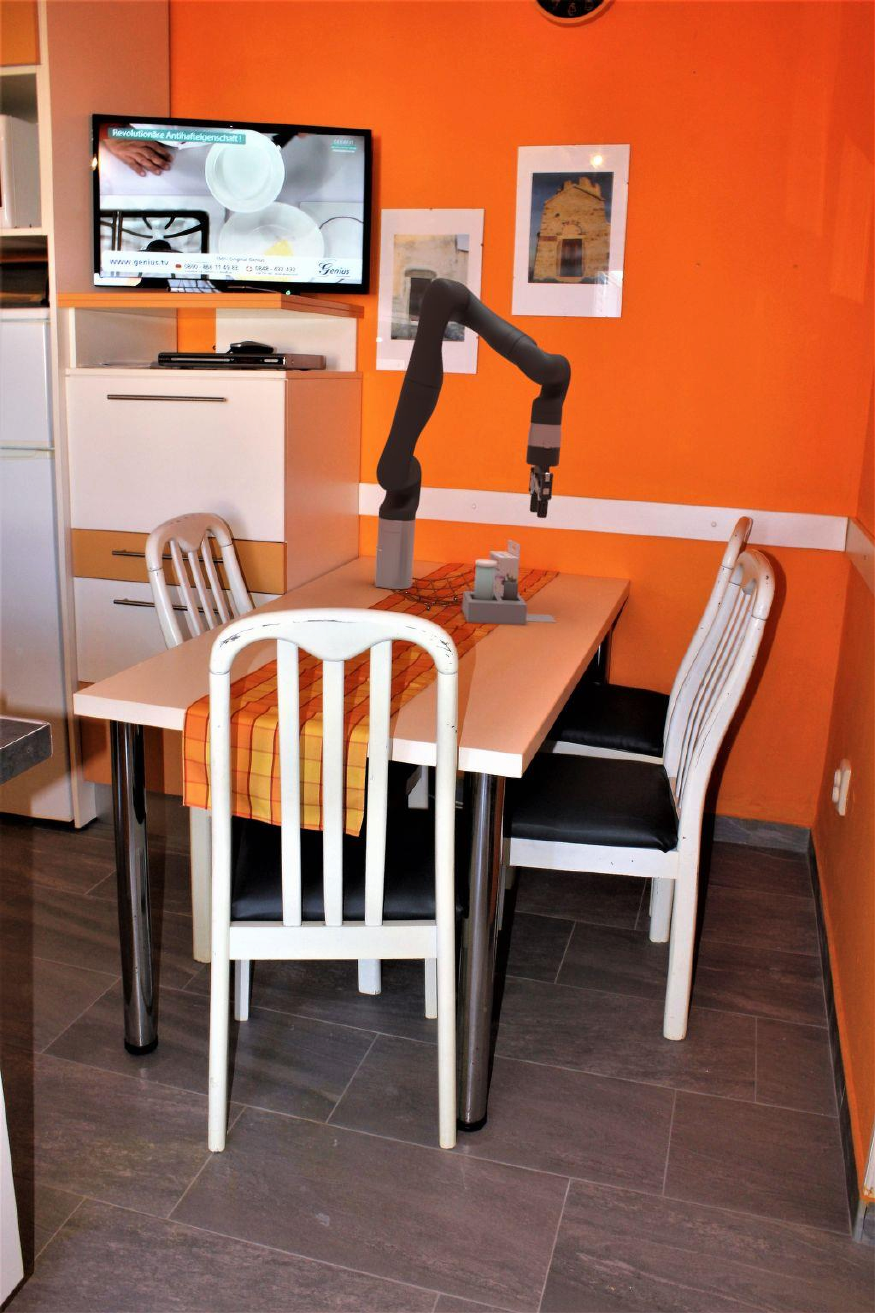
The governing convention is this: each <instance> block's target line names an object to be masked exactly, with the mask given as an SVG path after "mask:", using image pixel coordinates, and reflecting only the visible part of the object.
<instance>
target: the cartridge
mask: <svg viewBox="0 0 875 1313" xmlns="http://www.w3.org/2000/svg"><path fill="white" fill-rule="evenodd" d="M474 564H475V576H474V585H473V586H474V588H473V591H474V599H473V600H493V593H494V580H495V568H496V566H497V561H494V560H490V559H488V558H487V559H486V558H478V559H475V563H474Z"/></svg>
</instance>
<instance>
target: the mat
mask: <svg viewBox="0 0 875 1313" xmlns="http://www.w3.org/2000/svg"><path fill="white" fill-rule="evenodd" d="M529 622H531V623H549V624H550V623H553V624H555V623H556V620H555V619H554V618H553V616H552V615H550V614H536V613H535V614H534V613H533V614H532V613H526V623H529Z"/></svg>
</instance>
